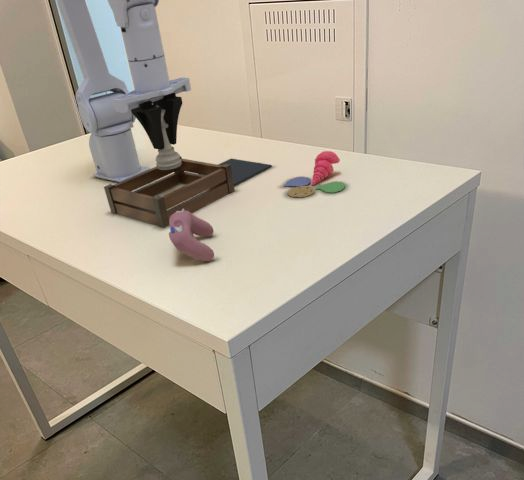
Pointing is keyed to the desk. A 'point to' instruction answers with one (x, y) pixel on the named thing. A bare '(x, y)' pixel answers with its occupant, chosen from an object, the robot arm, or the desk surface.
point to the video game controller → (190, 235)
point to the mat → (244, 169)
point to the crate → (155, 208)
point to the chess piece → (167, 151)
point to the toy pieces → (317, 177)
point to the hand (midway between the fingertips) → (165, 146)
